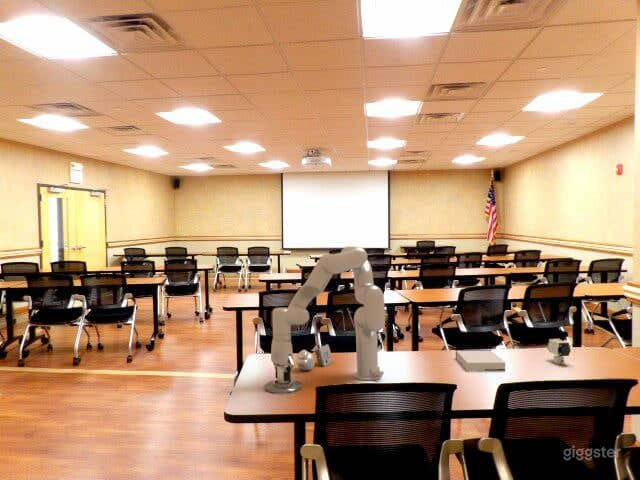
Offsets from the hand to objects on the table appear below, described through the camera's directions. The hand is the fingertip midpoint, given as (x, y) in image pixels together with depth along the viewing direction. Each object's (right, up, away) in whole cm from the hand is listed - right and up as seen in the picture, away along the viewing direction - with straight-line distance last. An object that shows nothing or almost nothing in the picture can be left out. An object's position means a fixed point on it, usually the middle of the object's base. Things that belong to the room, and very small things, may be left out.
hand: (283, 378), depth 203 cm
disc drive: (+93, -2, +27) cm, 97 cm away
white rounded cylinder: (0, -1, 0) cm, 1 cm away
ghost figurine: (+9, -3, +24) cm, 26 cm away
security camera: (+131, 0, +26) cm, 133 cm away
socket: (0, -4, 0) cm, 4 cm away
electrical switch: (+18, -3, +34) cm, 38 cm away
